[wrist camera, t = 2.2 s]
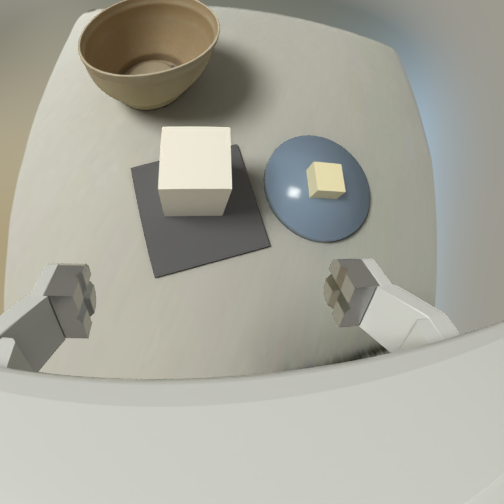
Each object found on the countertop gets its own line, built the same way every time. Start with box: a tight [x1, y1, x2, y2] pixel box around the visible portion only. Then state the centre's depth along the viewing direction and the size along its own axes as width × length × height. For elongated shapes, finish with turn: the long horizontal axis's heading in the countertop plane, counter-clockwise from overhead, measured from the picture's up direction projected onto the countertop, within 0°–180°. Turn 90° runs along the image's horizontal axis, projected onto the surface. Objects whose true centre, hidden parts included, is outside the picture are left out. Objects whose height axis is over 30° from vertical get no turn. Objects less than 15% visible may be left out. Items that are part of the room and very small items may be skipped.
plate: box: [264, 135, 370, 242], centre depth 37 cm, size 14×14×1 cm
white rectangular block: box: [158, 126, 232, 217], centre depth 31 cm, size 6×6×8 cm
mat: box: [131, 145, 270, 278], centre depth 34 cm, size 13×13×1 cm
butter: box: [306, 162, 346, 199], centre depth 36 cm, size 4×4×2 cm
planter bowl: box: [78, 0, 220, 110], centre depth 31 cm, size 16×16×11 cm
